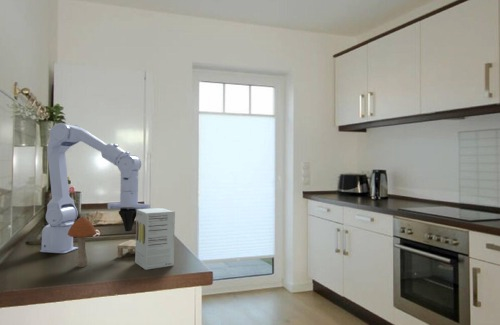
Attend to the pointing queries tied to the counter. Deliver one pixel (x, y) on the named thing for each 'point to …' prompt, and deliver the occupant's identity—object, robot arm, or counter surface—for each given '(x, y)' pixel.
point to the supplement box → (154, 238)
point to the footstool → (126, 247)
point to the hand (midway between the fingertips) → (128, 230)
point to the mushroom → (82, 237)
